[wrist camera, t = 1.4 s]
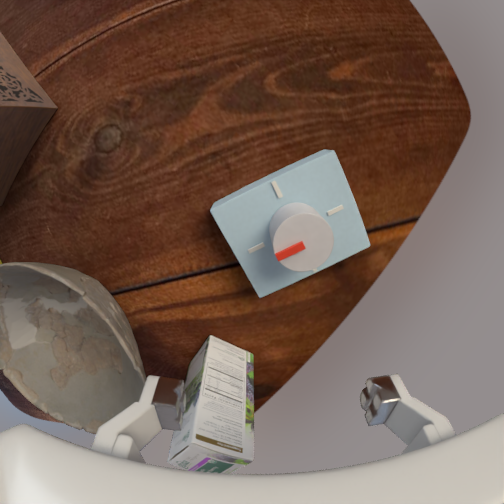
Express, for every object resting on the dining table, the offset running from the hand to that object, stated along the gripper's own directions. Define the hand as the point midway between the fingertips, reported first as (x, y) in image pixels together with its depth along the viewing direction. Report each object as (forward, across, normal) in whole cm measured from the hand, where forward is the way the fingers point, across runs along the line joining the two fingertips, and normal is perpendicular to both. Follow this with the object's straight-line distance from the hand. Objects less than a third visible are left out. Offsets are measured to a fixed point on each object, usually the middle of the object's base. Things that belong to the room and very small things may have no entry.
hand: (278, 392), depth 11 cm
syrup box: (+17, +4, +14) cm, 22 cm away
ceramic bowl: (+17, +20, +9) cm, 28 cm away
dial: (+14, -3, -3) cm, 14 cm away
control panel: (+17, -2, -3) cm, 17 cm away
